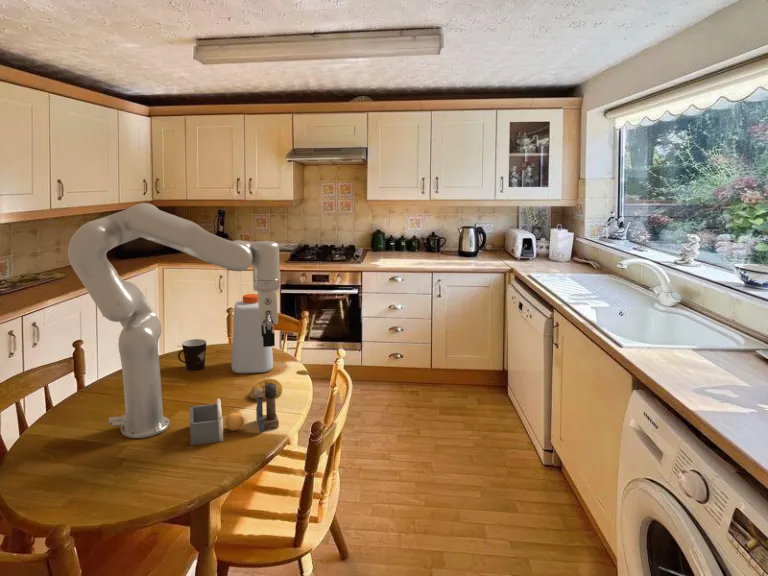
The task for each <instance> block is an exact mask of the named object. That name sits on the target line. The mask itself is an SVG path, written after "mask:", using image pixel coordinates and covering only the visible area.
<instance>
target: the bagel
mask: <svg viewBox="0 0 768 576" xmlns="http://www.w3.org/2000/svg"><path fill="white" fill-rule="evenodd" d="M267 384H275V385H276V397H275V400H276V399H278V398H279V397H281V396H282V394H283V393H282V392H283V385H282V384H281V382H280V381H279V380H277V379H274V378H264V379H261V380H260V381H258V382H257V383H256V384H255V385H254V386H252V388H251V389H250V391H249V393H248V397H249V398H250V399H253V400H256V401H257V397H256V396H255V394H254V392H255V390H256V389H257V388H262V389H263V390H264V396H263V397H262V401H265V402H266V397H265V385H267Z"/></svg>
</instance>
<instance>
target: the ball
mask: <svg viewBox="0 0 768 576" xmlns="http://www.w3.org/2000/svg"><path fill="white" fill-rule="evenodd" d="M244 421H245V419H244V418H243V416H242V414H240V413H239V412H232V413H229V414H228V415H227V417H226V418H225V426H226V428H227V429H228V430H229V431H236V432H237V431H239V430H241V428H242V427H243V425H244Z"/></svg>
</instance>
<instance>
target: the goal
mask: <svg viewBox="0 0 768 576" xmlns="http://www.w3.org/2000/svg"><path fill="white" fill-rule="evenodd" d="M189 436H190V446H195V445H203V444H210V443H217V442H219V443H220V442H224V419H223V413H222V401H221V399H220V398H218V397H217V398H216V403H211V404H202V405H195V406H189Z"/></svg>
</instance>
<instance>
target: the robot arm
mask: <svg viewBox="0 0 768 576" xmlns="http://www.w3.org/2000/svg"><path fill="white" fill-rule="evenodd" d="M139 238H142V239H145V240H149V241H151V242H154V243H157V244H160V245H163V246H166V247H169V248H171V249H175V250H177V251H180V252H182V253H185V254H186V255H189V256H191V257H195V258H197V259H198V260H202V261H204V262H206V263H209V264H211V265H215V266H218V267H220V268H223V269H226V270H230V271H232V272H233V271H234V272H243V271H245V270H247V269H249V267H250V266H252V286H253V287H252V288H253V291H255V292H257V295H258V307H259V316H260V321H261V329H262V337H263V346H264V347H271V346H272V347H275V346H276V345H275V344H276V342H275V336H276V335H275V334H276V333H275V330H274V329H275V328H274V324H275V325H278V324H279V316H278V315H279V314H278V313H279V312H278V311H279V310H278V309H279V308H278V292H277V291H279V290H281V282H280V281H281V277H280V276H281V275H280V272H281V271H280V245H279V244H278V242H276V241H271V240H260V241H259V240H258V241H249V240H240V239H237V240H228V239H227V238H223V237H221V236H218V235H216V234H214V233H211V232H210V231H208V230H206V229H204V228H203V227H202V226H200V225H199V224H197V223H195V222H194V221H192V220H190V219H185V218H183V217H180V216H177V215H174V214H172V213H169V212H166V211H163V210H160V209H159V208H158V207H157V206H155V205H154V204H151V203H147V202H141V203H137V204H134V205H132V206H131V207H128V208H126V209H123V210H121V211H118V212H115V213H113V214H109V215H106V216H103V217H100V218H97V219H94V220H91V221H88V222H86V223H84V224H83V225H81V226H80V227H78V229H76V231H75V233H73V235H72V237H71V239H70V241H69V243H68V249H67V254H68V255H67V256H68V260H69V264H70V265H71V267H72V270H73V272H75V274H76V276H77V277H78V279H79V280H80V282H81V283H82V285H83V286H84V288H85V290H86V291H87V293H88V295H89V296H90V298H91V299H92V300H93V303H95V305H96V306H97V308H98V310H99V311H100V313H101V315H103V317H104V318H105V319H106V320H108V321H111V322H114V323H118V322H119V323H120V325H121V326H122V330H121V331H120V334H119V335H118V353H119V358H120V362H121V363H120V364H121V373H122V383H123V395H124V397H123V398H124V409H125V414H121V416H112V417H108V424H109V425H111V426H112V427H113V428H115V427H120V433H121V435H122V436H124V437H127V438H131V439H143V438H144V439H145V438H149V437H153V436H157V435H159V434H161V433H164V431H166V430H167V429H168V428H169V427H170V420H169V418H168V417H166V416H164V411H163V408H164V407H163V395H162V380H161V379H162V377H161V364H160V356H159V340H160V337H161V334H162V323H161V320H160V318H159V317H158V316H157V314H156V312H155V311H154V309H153V307H152V306H151V304H150V302H149V301H148V300H147V298H146V296H145V295H144V293H143V291H141V289H140V288H139V287H138V286H137V285H136V284H134V283H133V282H130V281H127V280H123V279H122V278H121V276H120V275H119V273H118V271H117V270H116V268H115V267H114V266H113V264H112V263H111V262H110V261H109V259H108V257H107V253H108V252H109V251H111V250H112V249H114V248H116V247H118V246H121V245H124V244H126V243H128V242H132V241H135V240H136V239H139Z"/></svg>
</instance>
